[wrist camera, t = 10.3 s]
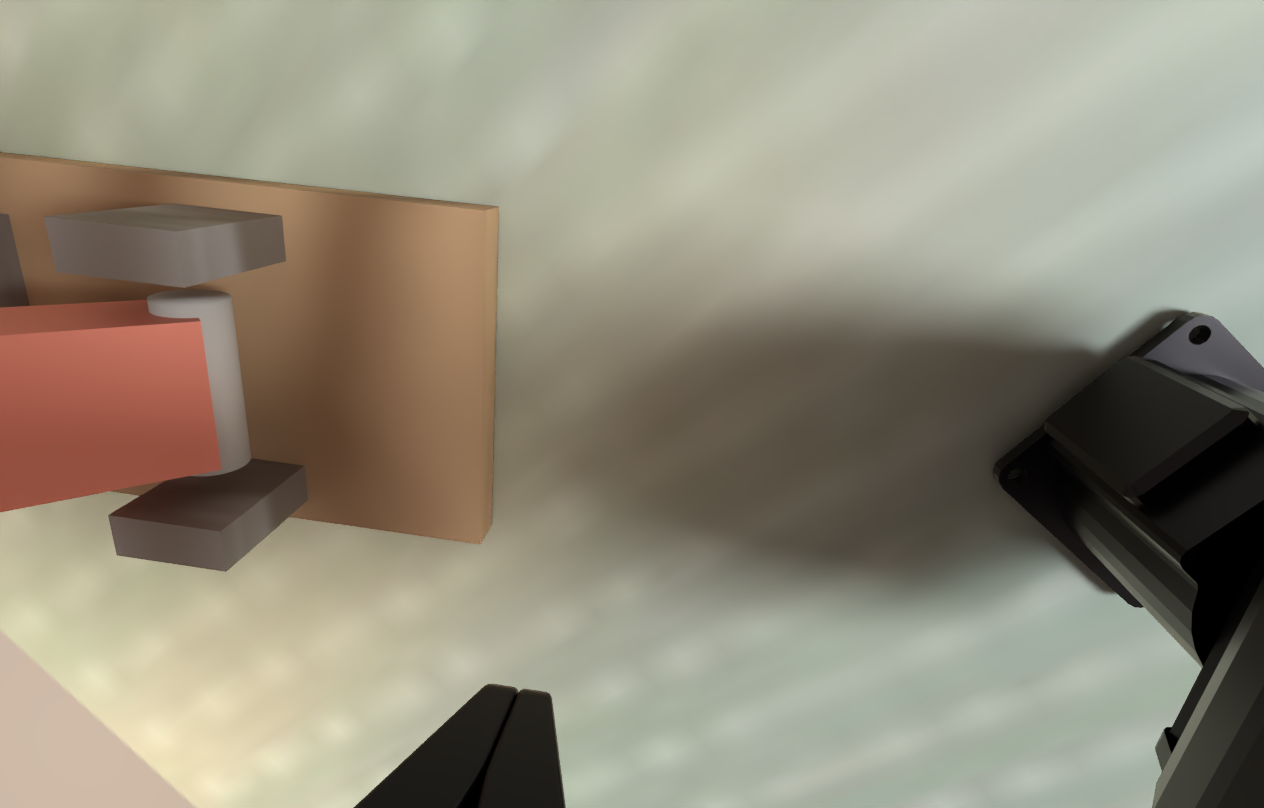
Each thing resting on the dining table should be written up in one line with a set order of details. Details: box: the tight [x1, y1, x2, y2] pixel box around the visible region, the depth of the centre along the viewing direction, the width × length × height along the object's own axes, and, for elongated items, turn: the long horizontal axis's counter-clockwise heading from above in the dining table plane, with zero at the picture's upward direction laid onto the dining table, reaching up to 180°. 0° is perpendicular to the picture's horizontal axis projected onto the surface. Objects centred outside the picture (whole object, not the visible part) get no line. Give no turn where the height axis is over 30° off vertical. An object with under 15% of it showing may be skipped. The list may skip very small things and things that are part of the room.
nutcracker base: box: [0, 152, 499, 571], centre depth 18 cm, size 20×10×5 cm, turn 85°
